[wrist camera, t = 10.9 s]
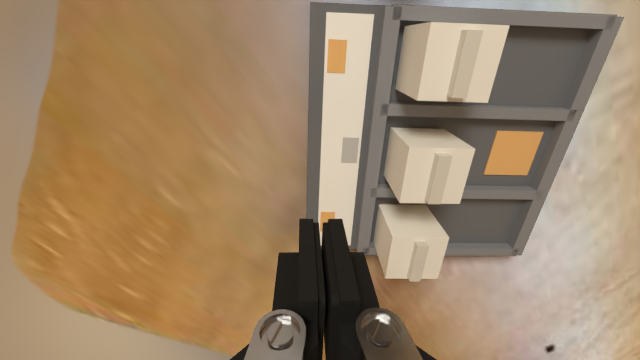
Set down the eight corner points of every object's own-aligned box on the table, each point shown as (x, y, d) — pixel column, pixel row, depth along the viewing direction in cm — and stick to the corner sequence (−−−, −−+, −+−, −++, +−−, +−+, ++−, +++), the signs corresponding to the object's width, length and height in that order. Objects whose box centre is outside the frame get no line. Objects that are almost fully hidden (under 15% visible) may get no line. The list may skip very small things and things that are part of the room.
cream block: (426, 205, 24) (453, 243, 19) (417, 241, 25) (441, 284, 21) (378, 204, 24) (394, 242, 19) (373, 241, 25) (387, 284, 21)
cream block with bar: (466, 29, 18) (517, 24, 14) (452, 90, 20) (494, 104, 15) (404, 26, 18) (436, 20, 14) (395, 88, 20) (420, 102, 15)
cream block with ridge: (444, 128, 21) (481, 152, 17) (433, 175, 23) (464, 208, 18) (390, 127, 21) (412, 150, 16) (383, 174, 22) (402, 207, 18)
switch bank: (605, 17, 19) (632, 15, 18) (513, 243, 28) (526, 256, 26) (310, 4, 18) (310, 0, 17) (305, 241, 27) (305, 254, 25)
